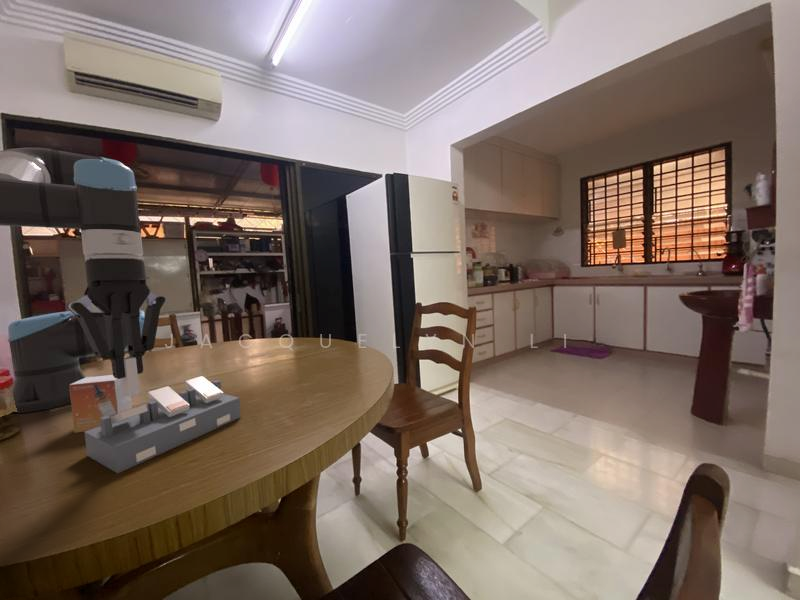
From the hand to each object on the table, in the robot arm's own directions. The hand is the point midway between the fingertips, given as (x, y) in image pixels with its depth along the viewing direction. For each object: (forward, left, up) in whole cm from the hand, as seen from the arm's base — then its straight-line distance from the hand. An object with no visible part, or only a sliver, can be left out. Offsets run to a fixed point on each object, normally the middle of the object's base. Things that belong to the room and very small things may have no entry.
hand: (131, 394), depth 56 cm
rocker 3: (-3, +14, -5) cm, 15 cm away
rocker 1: (-3, 0, -5) cm, 6 cm away
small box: (-22, +3, -12) cm, 25 cm away
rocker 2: (-3, +7, -5) cm, 9 cm away
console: (-3, +7, -12) cm, 14 cm away
